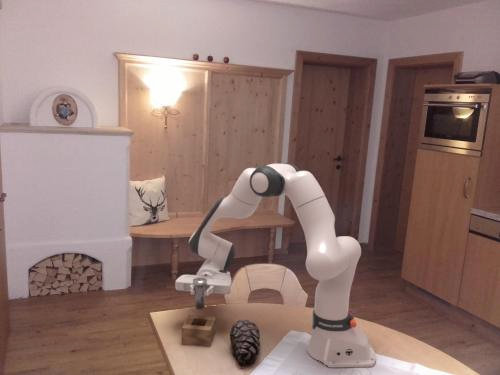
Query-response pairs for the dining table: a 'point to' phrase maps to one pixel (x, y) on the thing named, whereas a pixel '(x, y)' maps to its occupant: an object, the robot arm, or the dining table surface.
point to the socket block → (199, 330)
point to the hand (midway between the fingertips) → (199, 293)
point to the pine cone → (245, 342)
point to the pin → (199, 292)
